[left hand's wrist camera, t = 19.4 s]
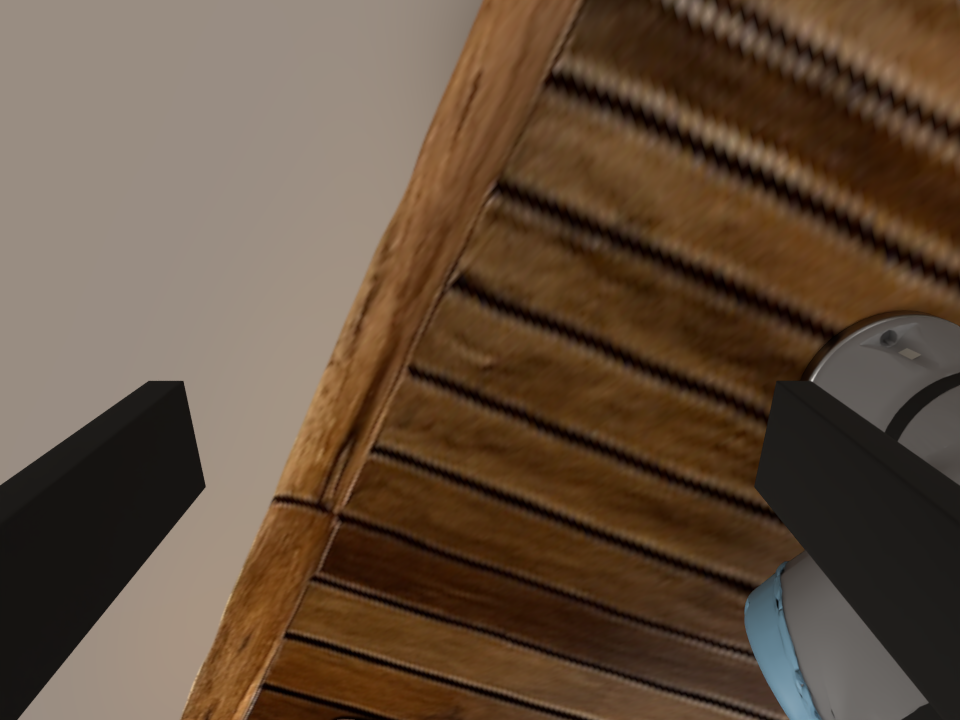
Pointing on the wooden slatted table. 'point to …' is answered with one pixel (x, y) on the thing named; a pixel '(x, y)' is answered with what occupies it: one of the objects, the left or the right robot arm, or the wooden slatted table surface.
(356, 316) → the wooden slatted table surface
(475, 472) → the wooden slatted table surface
